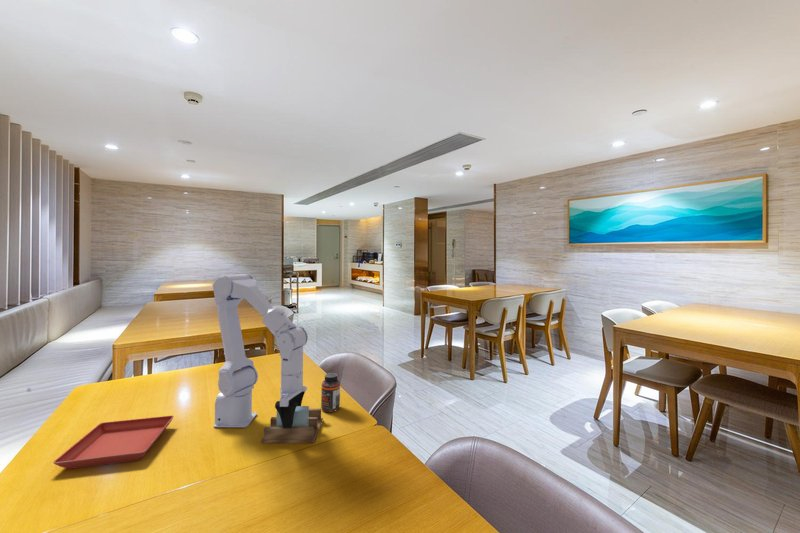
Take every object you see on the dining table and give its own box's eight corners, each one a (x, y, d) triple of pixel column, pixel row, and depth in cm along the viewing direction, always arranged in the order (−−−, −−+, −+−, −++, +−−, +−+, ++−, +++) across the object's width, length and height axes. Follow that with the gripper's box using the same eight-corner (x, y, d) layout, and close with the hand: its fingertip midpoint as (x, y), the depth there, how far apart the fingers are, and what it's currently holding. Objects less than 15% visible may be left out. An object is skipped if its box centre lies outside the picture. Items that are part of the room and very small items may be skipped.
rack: (261, 443, 88) (261, 429, 88) (276, 420, 100) (276, 408, 100) (314, 443, 89) (314, 429, 88) (322, 420, 100) (323, 408, 100)
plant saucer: (51, 476, 74) (50, 462, 74) (100, 433, 91) (100, 421, 91) (145, 465, 79) (144, 451, 79) (175, 426, 96) (175, 414, 96)
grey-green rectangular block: (276, 436, 90) (276, 411, 90) (280, 430, 93) (280, 405, 93) (306, 436, 90) (306, 411, 90) (308, 430, 93) (308, 406, 93)
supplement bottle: (317, 410, 107) (317, 375, 106) (329, 403, 112) (329, 370, 112) (331, 414, 104) (332, 379, 103) (343, 407, 109) (343, 373, 109)
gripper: (299, 382, 84) (299, 434, 84) (312, 363, 98) (312, 407, 99) (271, 382, 83) (271, 434, 84) (288, 362, 98) (288, 407, 99)
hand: (291, 420), depth 91 cm, fingers open, 7 cm apart
